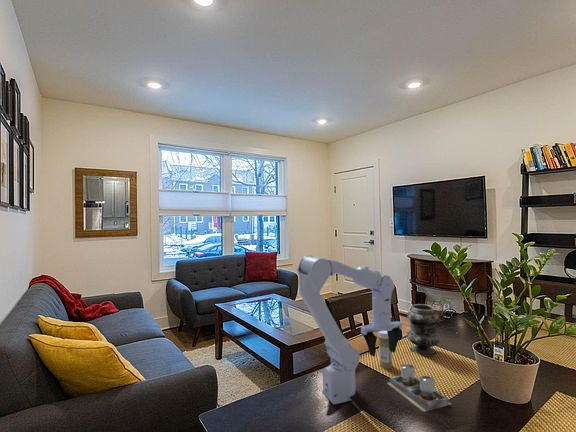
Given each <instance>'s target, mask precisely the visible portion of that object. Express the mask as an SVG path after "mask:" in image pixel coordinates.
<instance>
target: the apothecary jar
mask: <svg viewBox="0 0 576 432" xmlns="http://www.w3.org/2000/svg"><path fill="white" fill-rule="evenodd" d="M435 310H436V309H435V307H434V306H432V305H429V304H424V303H422V304H421V303H417V304H416V303H415V304H412V305H411V308H410V310H409V311H408V312H407V314H406V317H407V318H408V320H410V323H409V324H410V326H409V327H410V329H409V330H408V332H407V334H406V337H407V339H408V341H409V342H410V343H411V344H413V345H412V346H411V347H410V348H409V351H410V352H411V353H416V354H418V355H421V356H423V357H426V358H427V357H429V358H430V357H435V356H437V350H436V349H435V348H432V347H436V346H438V344H439V343H440V341H441V340H440V339H441V338H440V336H439V334H437V323H439V321H440V316H439V314H438V313H437V312H436V311H435Z"/></svg>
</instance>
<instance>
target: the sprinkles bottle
mask: <svg viewBox="0 0 576 432" xmlns="http://www.w3.org/2000/svg"><path fill="white" fill-rule="evenodd" d="M377 333H378V342H379V343H378V357H379V367H380V368H382V369H386V370H389V369H390V370H391V369H392V368H393V352H391V351H390V350H389V339H388V333H387V331H379V332H377Z"/></svg>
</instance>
